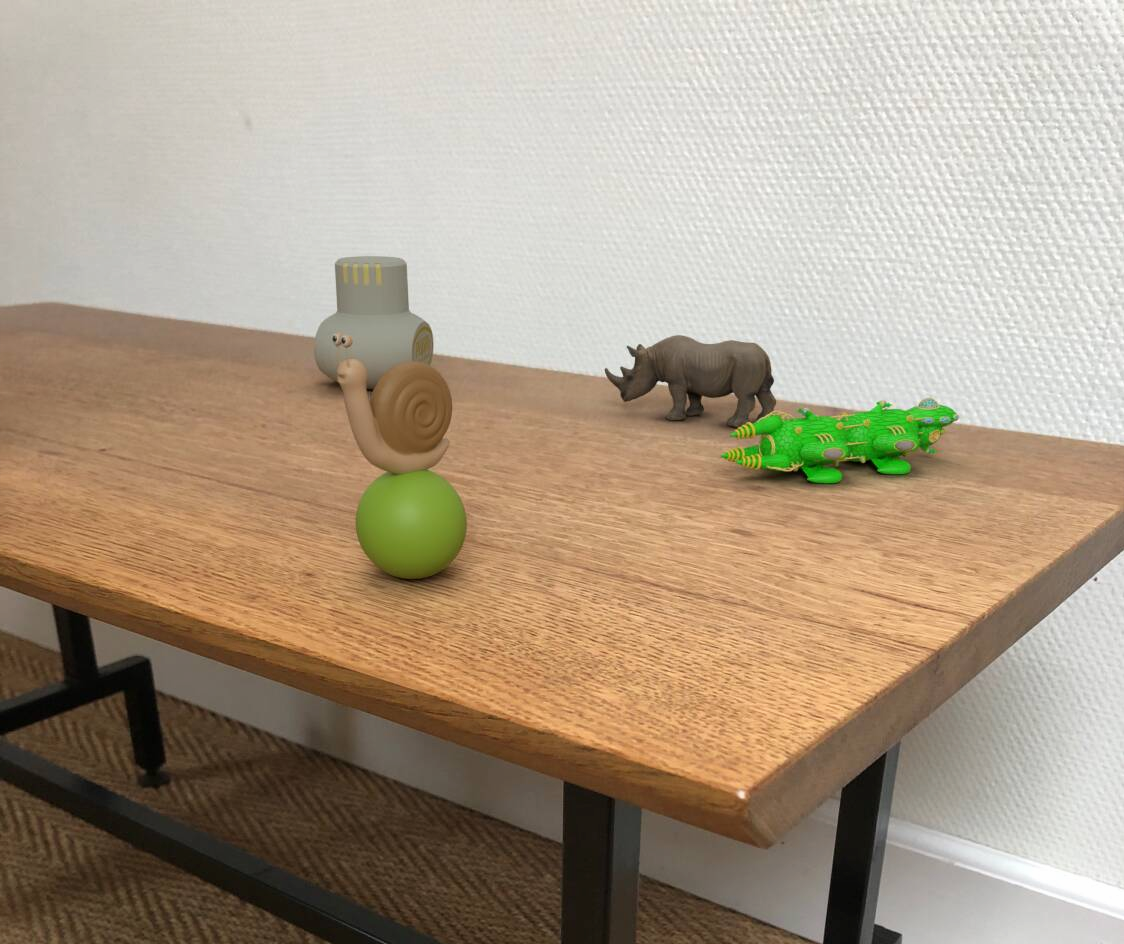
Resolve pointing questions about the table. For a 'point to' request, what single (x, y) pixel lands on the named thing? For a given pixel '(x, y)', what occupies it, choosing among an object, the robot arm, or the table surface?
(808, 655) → the table surface
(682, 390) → the rhino figurine
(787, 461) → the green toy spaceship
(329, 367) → the air freshener
